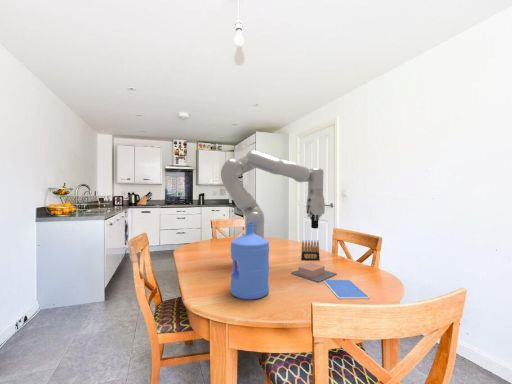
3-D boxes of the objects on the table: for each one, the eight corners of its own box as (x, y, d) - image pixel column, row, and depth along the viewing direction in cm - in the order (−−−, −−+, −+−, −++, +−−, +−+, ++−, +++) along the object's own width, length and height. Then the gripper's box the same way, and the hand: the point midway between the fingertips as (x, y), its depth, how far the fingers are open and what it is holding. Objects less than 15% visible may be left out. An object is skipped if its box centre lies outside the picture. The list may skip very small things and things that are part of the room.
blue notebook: (322, 282, 114) (322, 279, 114) (349, 282, 115) (349, 279, 115) (338, 300, 95) (338, 297, 95) (370, 300, 95) (370, 297, 95)
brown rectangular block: (324, 273, 122) (312, 278, 116) (310, 269, 128) (298, 274, 122) (324, 266, 122) (312, 270, 116) (310, 263, 128) (298, 266, 121)
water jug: (271, 286, 107) (272, 221, 107) (264, 302, 92) (265, 227, 92) (237, 283, 111) (237, 220, 110) (224, 298, 95) (225, 225, 95)
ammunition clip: (318, 259, 150) (318, 239, 149) (319, 260, 148) (319, 240, 148) (301, 259, 150) (301, 239, 149) (301, 260, 148) (301, 240, 148)
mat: (318, 282, 112) (318, 281, 112) (290, 273, 124) (290, 272, 124) (336, 274, 123) (336, 273, 123) (309, 267, 135) (309, 266, 135)
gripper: (312, 192, 120) (311, 230, 120) (330, 192, 129) (329, 227, 129) (300, 192, 125) (299, 228, 125) (317, 192, 135) (317, 226, 135)
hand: (314, 228), depth 127 cm, fingers closed
